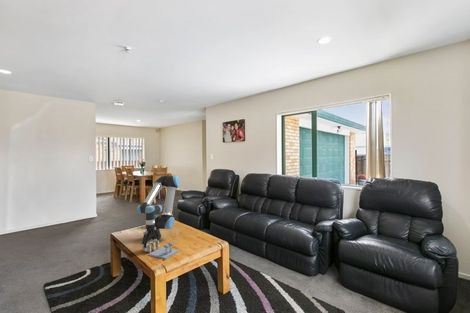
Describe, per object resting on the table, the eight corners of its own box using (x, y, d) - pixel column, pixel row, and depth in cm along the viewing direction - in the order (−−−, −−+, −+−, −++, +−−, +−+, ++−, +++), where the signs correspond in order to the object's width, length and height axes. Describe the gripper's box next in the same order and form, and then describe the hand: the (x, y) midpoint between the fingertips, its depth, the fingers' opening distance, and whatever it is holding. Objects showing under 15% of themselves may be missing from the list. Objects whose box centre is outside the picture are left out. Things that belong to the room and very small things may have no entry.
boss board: (148, 255, 190) (148, 245, 190) (162, 248, 205) (162, 238, 205) (165, 259, 183) (165, 248, 183) (178, 251, 197) (178, 241, 197)
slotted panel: (142, 250, 198) (142, 243, 197) (151, 245, 207) (151, 239, 207) (150, 252, 194) (150, 245, 194) (159, 247, 203) (159, 240, 203)
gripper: (143, 228, 188) (144, 255, 189) (162, 220, 209) (163, 244, 209) (136, 227, 191) (137, 253, 192) (156, 219, 212) (157, 242, 213)
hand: (151, 248), depth 201 cm, fingers closed on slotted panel, 10 cm apart
